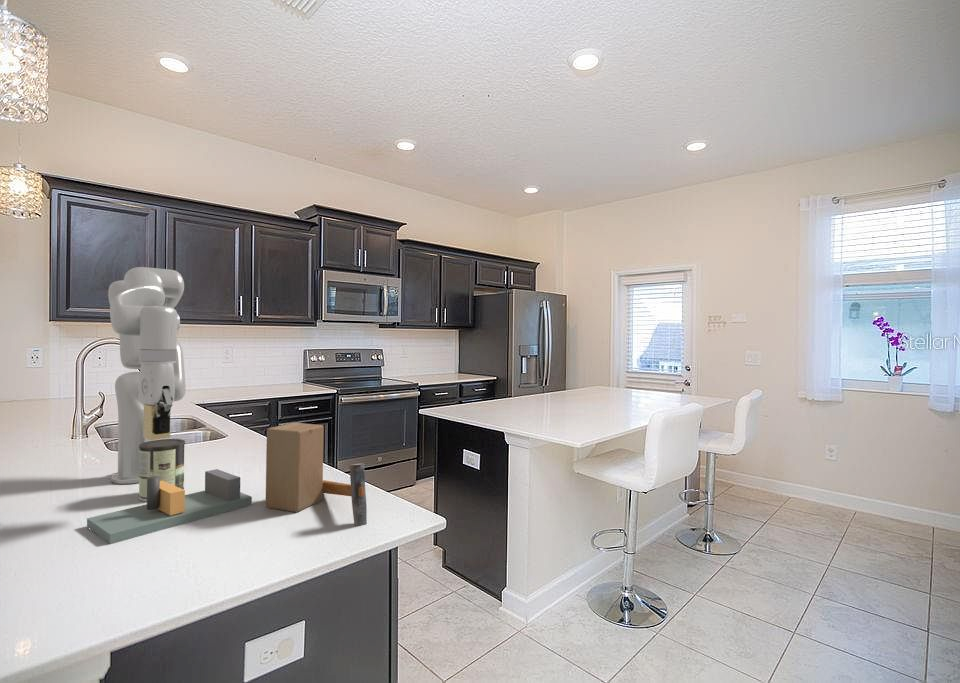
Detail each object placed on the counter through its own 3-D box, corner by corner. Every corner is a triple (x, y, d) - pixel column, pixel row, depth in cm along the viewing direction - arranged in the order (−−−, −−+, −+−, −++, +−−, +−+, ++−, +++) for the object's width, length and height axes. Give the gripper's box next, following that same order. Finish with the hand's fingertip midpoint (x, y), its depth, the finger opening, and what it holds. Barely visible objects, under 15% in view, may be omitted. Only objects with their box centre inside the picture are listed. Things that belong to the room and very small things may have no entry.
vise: (86, 527, 106) (87, 494, 106) (224, 493, 131) (224, 466, 131) (110, 544, 98) (110, 508, 98) (251, 504, 123) (252, 475, 123)
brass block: (143, 437, 116) (143, 404, 116) (162, 434, 120) (162, 402, 120) (151, 440, 113) (151, 406, 113) (170, 437, 117) (170, 404, 117)
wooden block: (323, 500, 127) (324, 424, 127) (297, 513, 117) (298, 431, 117) (292, 495, 130) (293, 422, 130) (264, 507, 121) (265, 428, 121)
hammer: (312, 463, 135) (354, 465, 111) (321, 462, 136) (365, 463, 113) (315, 514, 132) (358, 526, 109) (324, 512, 134) (369, 524, 111)
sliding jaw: (136, 506, 113) (137, 474, 113) (162, 500, 118) (162, 469, 118) (158, 518, 106) (158, 484, 106) (184, 511, 111) (185, 478, 111)
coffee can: (168, 487, 135) (169, 437, 135) (192, 492, 131) (193, 441, 131) (129, 497, 126) (130, 444, 126) (153, 504, 121) (154, 448, 121)
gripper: (127, 356, 119) (126, 429, 119) (153, 358, 108) (152, 439, 108) (162, 355, 125) (161, 425, 125) (189, 358, 114) (188, 434, 114)
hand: (157, 431), depth 117 cm, fingers closed on brass block, 5 cm apart
